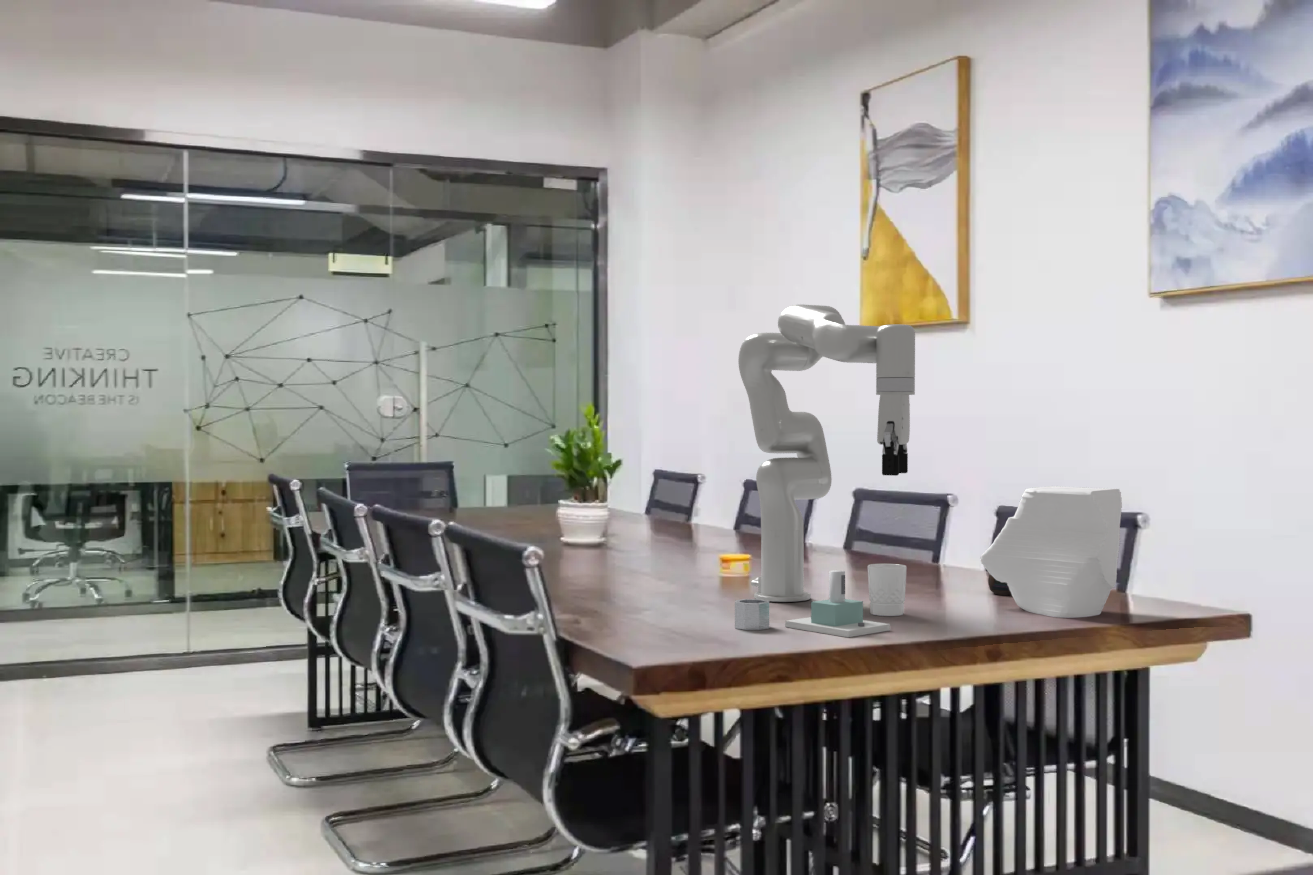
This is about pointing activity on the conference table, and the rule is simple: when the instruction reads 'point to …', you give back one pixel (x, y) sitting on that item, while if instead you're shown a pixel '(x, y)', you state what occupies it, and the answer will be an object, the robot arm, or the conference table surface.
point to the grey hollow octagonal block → (752, 614)
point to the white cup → (887, 589)
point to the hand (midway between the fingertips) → (895, 474)
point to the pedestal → (837, 613)
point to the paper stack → (1059, 550)
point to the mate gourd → (998, 586)
